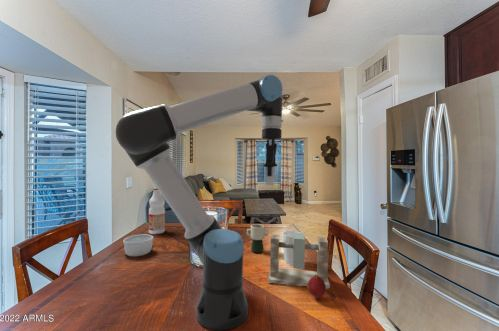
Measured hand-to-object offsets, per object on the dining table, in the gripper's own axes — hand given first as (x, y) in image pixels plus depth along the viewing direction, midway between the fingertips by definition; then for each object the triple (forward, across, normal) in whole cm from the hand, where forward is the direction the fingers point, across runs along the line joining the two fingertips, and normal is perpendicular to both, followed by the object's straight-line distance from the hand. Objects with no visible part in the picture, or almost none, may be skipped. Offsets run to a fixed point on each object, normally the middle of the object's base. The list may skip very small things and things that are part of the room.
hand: (270, 183), depth 92 cm
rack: (+37, +1, -11) cm, 38 cm away
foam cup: (+37, +17, -9) cm, 42 cm away
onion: (+37, -10, -17) cm, 42 cm away
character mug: (+37, +27, +8) cm, 46 cm away
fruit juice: (+37, +46, +74) cm, 95 cm away
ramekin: (+37, +14, +65) cm, 76 cm away
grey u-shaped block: (+31, +1, -11) cm, 33 cm away
